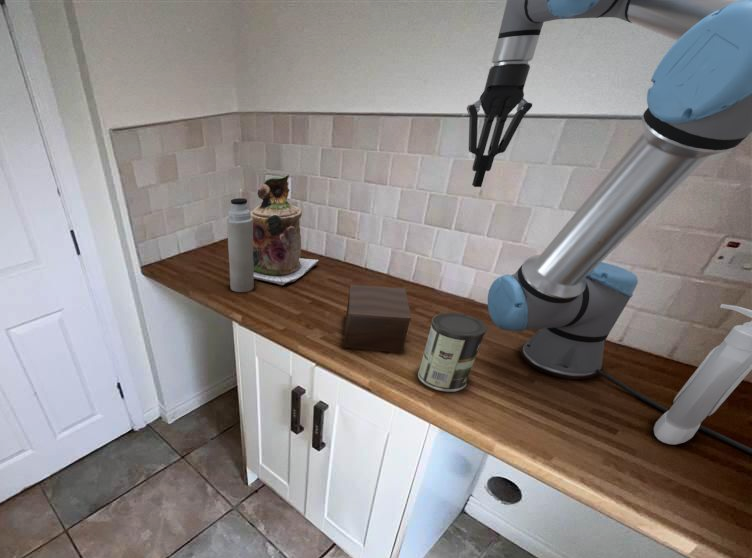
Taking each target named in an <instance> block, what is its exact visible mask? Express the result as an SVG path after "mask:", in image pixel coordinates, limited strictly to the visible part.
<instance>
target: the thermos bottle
mask: <svg viewBox="0 0 752 558" xmlns="http://www.w3.org/2000/svg"><path fill="white" fill-rule="evenodd" d="M230 204H231V206H230V207H231V209H230V210H229V211H228V218H227V219H226V227H227V228H226V229H227V247H228V249H227V250H228V263H229V285H230V286H229V287H230V290H231V291H233V292H235V293H246V292H247V293H248V292H250V291H252V290H254V287H255V278H254V268H253V219H252V218H251V217H250V215H251V213H250V212H251V210H250V209H249V208H248V199H247V198H242V197H239V198H233V199H231V200H230Z"/></svg>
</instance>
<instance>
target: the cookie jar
mask: <svg viewBox="0 0 752 558" xmlns="http://www.w3.org/2000/svg"><path fill="white" fill-rule="evenodd" d="M289 177H290V175H289V174H286V175H284V176H282V177H270V178H268V179H266V180H265V181H264V183H263V184H262V185H261V186H260V187H258V189H257V197H258V198H259V199H260V200H262V202H260V203H261V204H260V205H257V206H256V207H254V209H253V210H250V213H251V215H250V217H251V218H252V219H253V268H254V280H259V281H264V282H268V283H273V284H276V285H280V286H284V285H285V284H289V283H293V282H294V283H295V282H296V281H297V280H298V279H300V278H301V277H302V276H304V275H306V274H307V272H309V271H310V270H311V269H312V268H313V267H315V266H317V264H318V262H319V259H315V258H314V259H311V258H303V257H302V258H301V256H302V236H301V223H300V219H301V217H302V214H303V210H302V209H301V208H300V207H297V206H295V205H291V204H290V203H289V201H287V199H288V196H289V193H290V188H289V182H288V179H289Z"/></svg>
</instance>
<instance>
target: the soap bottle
mask: <svg viewBox="0 0 752 558" xmlns="http://www.w3.org/2000/svg"><path fill="white" fill-rule="evenodd" d="M719 308H720V309H727V310H731V311H735V312H738V313H740V314H742V315H744V316H747V317H749V318H751V319H752V309H748V308H745V307H742V306H738V305H732V304H725V303H721V304H720V306H719ZM751 371H752V320H750V321H748V322H744V323H742V324H738V325H734V326H733V328H731V330H730V331H729V332H728V334H727V335H726V336H725V337H724V339H723V341H722V342H721V343H720V344H719V345H717V346H715V347H714V348H713V349H711V350H710V351H709V353H708V354H707V355H706V356H705V358H704V359H703V360H702V361H701V363H700V364H699V365H698V366H697V368H696V370H695V371H694V372H693V373H692V375H691V376H690V377H689V378H688V380H687V381H686V382H685V384H684V385H683V386H682V388H681V389H680V390H679V391H678V393H677V394H676V396H675V397H674V398H673V402H672V403H673V404H672V405H671V407H670V408H669V411H667V412H664V413H663V414H662V415H661V416H660V417H659V418H658V419H657V421H655V423H654V426H653V434H654V436H655V437H656V439H657V440H658V441H660V442H662V443H664V444H667V445H680V444H683V443H686V442H688V441H690V440H691V439H692V438H693V437H694V436H695V434H696V433H697V432H698V430H699V427H700V425H702V422H703V421H704V420H705V419H706V418H707V416H708V417H710V416H711V415H713V414H714V413H715V412H717V410H718V409H719V408H720V406H721V405H722V404H723V403H725V401H726V400H727V399H728V397H729V396H730V395H731V394H732V393H733V392H734V390H735V389H736V388H737V387H738V386H739V385H740V384H741V383H742V381H743V380H744V379H745V378H746V377H747V376H748V374H749V373H750V372H751Z"/></svg>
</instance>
